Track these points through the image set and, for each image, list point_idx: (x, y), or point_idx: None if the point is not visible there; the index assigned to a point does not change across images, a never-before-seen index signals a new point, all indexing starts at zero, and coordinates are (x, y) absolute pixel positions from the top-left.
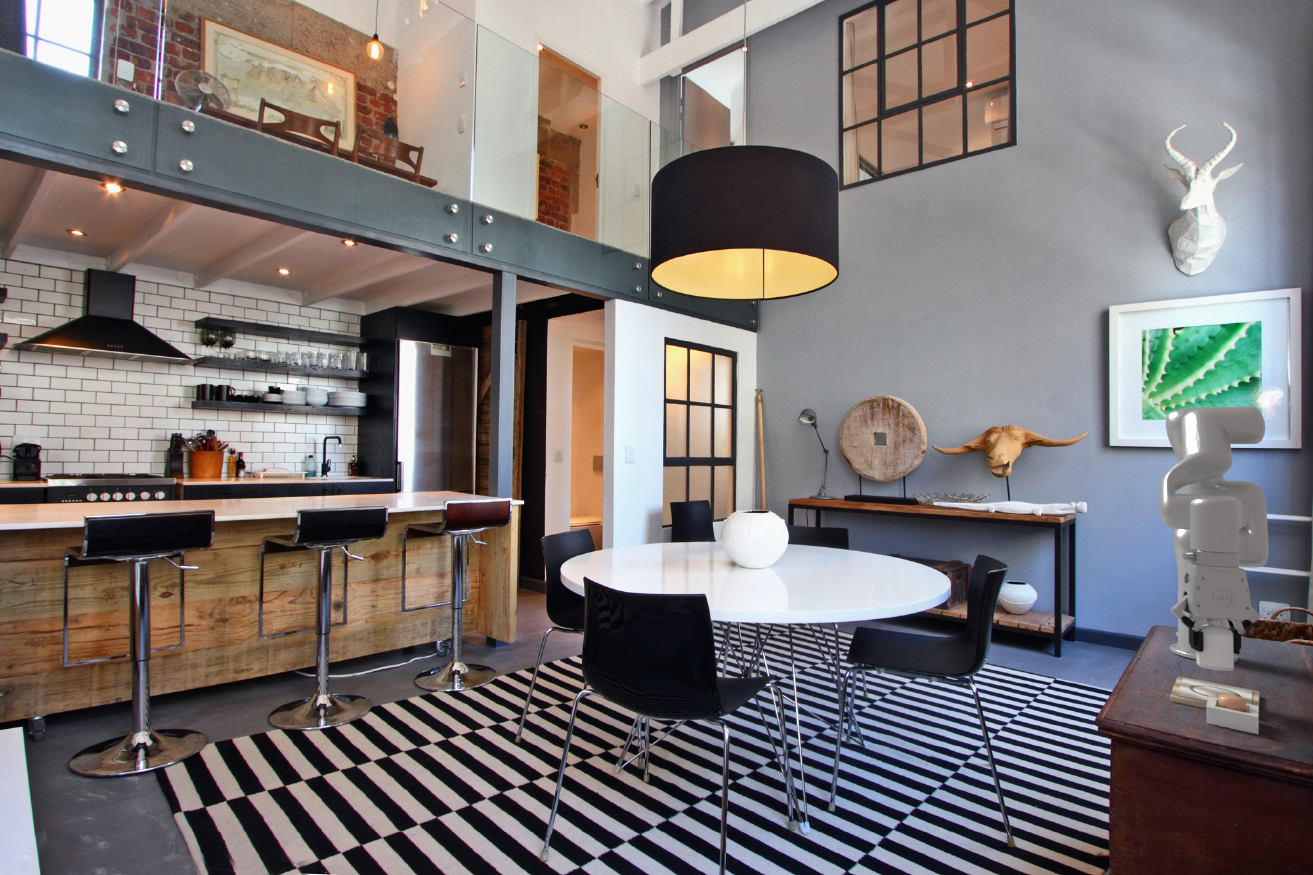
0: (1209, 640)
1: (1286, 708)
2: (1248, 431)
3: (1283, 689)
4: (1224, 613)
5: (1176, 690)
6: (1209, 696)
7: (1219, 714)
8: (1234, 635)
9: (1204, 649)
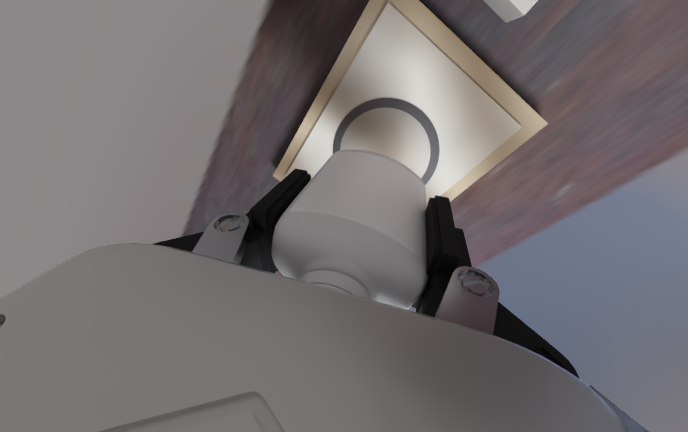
0: (401, 219)
1: (262, 98)
2: None
3: (219, 207)
4: (274, 326)
5: (472, 172)
6: (523, 11)
7: None
8: (275, 215)
9: (416, 206)
